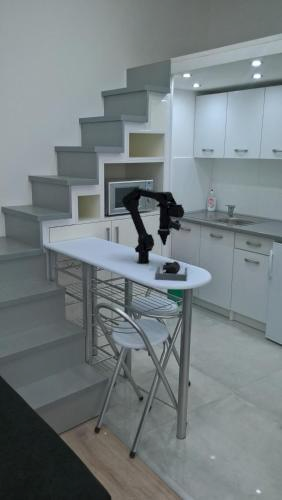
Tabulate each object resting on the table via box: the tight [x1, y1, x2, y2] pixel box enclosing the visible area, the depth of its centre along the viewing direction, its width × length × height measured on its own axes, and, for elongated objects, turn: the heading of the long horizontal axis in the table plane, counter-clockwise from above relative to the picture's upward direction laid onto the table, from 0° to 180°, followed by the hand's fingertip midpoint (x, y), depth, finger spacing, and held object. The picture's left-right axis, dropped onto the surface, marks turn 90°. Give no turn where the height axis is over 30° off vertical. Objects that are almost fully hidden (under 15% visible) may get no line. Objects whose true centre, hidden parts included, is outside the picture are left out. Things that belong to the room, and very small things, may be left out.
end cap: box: [162, 260, 181, 274], centre depth 212 cm, size 10×7×7 cm
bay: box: [154, 266, 188, 282], centre depth 213 cm, size 14×15×3 cm
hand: (164, 245), depth 228 cm, fingers closed
